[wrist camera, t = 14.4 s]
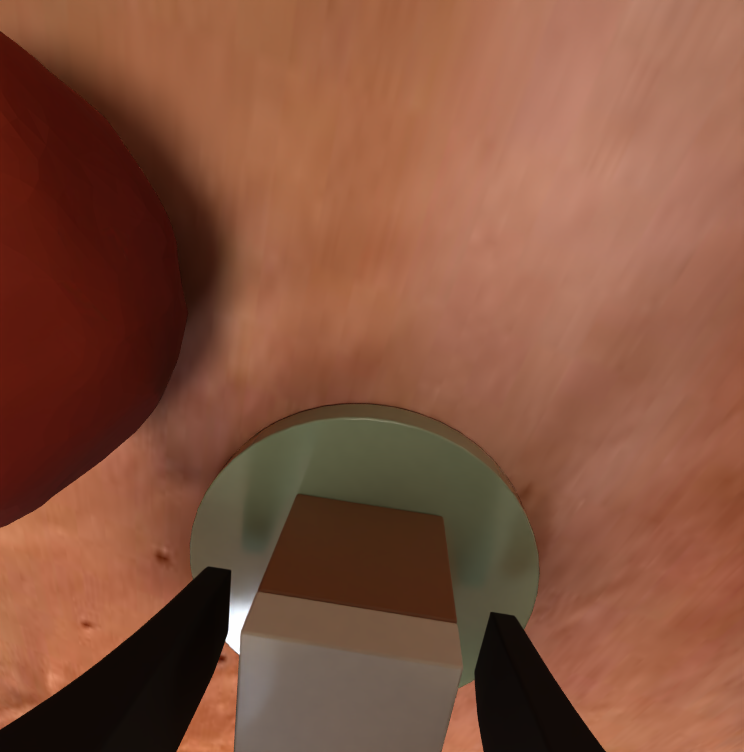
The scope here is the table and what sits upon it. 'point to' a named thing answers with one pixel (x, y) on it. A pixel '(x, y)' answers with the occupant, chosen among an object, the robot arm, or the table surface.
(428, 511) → the plate
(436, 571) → the cake slice
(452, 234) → the table surface
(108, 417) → the tomato
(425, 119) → the table surface
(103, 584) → the table surface
